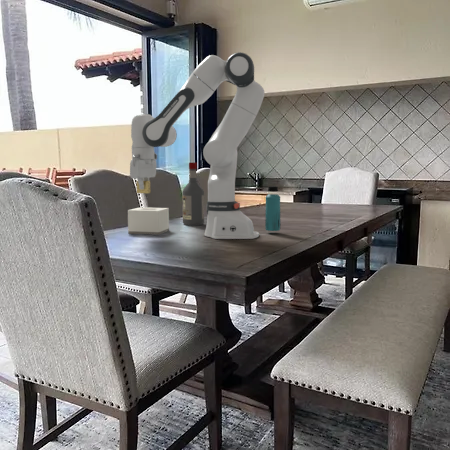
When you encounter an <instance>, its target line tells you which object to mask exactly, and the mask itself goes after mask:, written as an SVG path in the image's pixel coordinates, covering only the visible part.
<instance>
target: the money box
mask: <svg viewBox="0 0 450 450" xmlns="http://www.w3.org/2000/svg"><path fill="white" fill-rule="evenodd" d="M169 211H170V209H169V207H136V208H132V209H127V230H128V234H129V235H130V234H133V235H134V234H135V235H155V236H156V235H158V236H160V235H162V234H164V233H166V232H169V231H170V214H169Z"/></svg>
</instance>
